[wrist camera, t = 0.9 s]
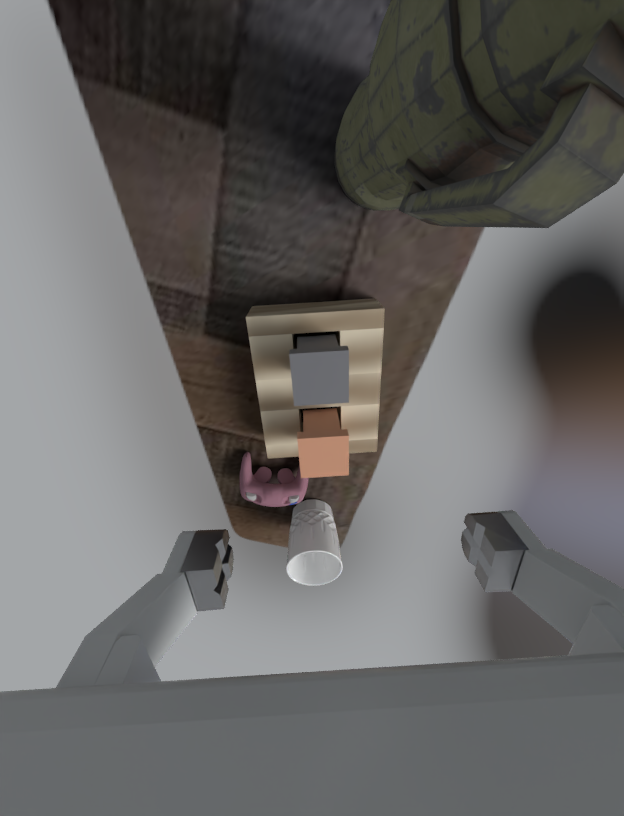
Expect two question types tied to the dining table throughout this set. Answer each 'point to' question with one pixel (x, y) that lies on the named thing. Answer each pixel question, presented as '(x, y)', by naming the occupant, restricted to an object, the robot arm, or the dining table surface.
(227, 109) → the dining table surface
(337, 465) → the terracotta plug
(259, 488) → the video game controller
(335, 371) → the charcoal plug
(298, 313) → the socket block
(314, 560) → the white cup
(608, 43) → the thermos
